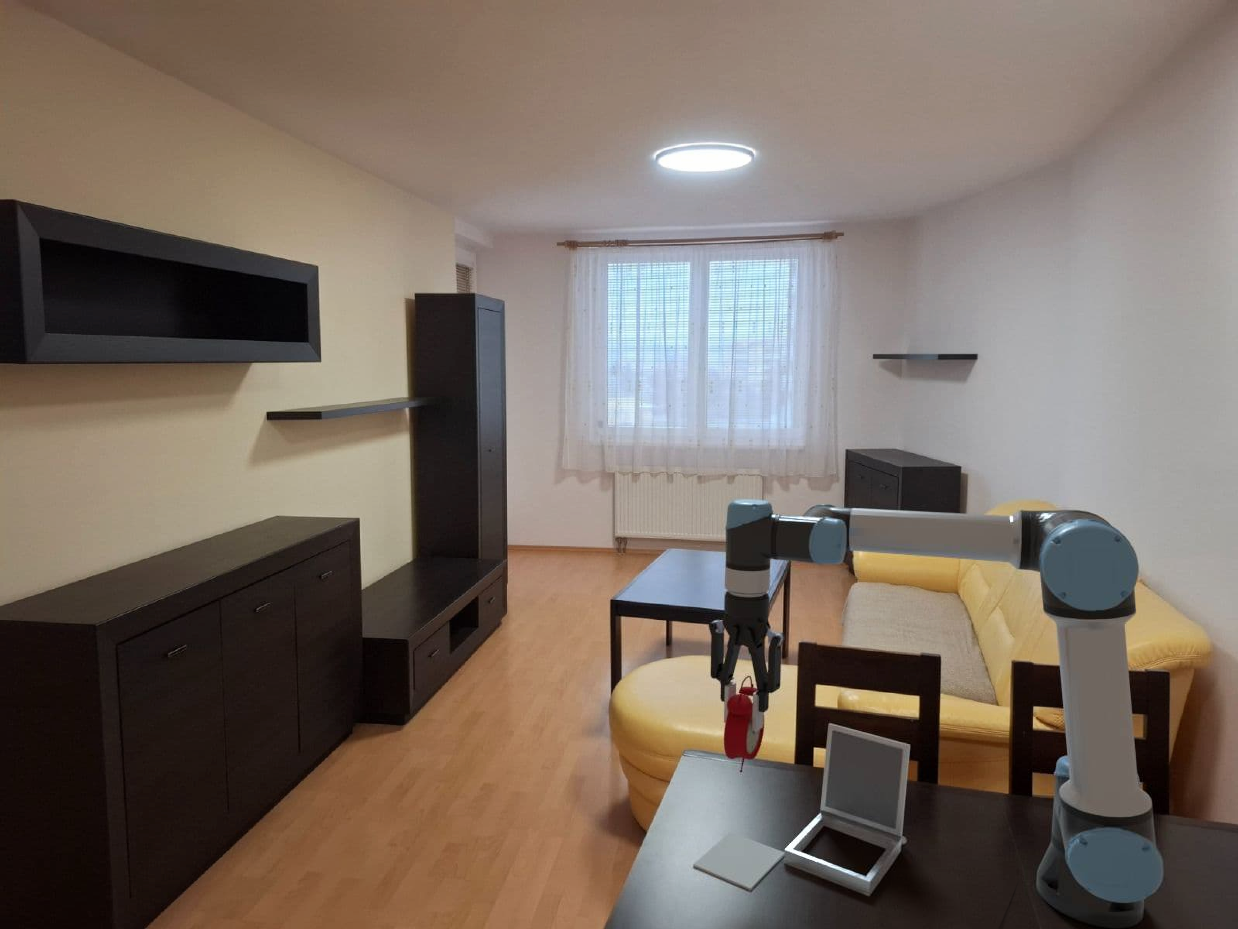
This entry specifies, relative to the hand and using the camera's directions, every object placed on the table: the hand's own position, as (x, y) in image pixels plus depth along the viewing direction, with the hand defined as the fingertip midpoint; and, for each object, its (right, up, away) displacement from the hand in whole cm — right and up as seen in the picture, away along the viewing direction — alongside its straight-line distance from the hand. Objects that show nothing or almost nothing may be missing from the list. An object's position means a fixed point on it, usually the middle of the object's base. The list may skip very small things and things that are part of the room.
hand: (743, 724), depth 139 cm
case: (+18, -25, +4) cm, 31 cm away
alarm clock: (-1, -7, +2) cm, 7 cm away
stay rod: (+29, -24, +9) cm, 39 cm away
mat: (0, -25, +2) cm, 25 cm away
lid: (+23, -13, +9) cm, 28 cm away
